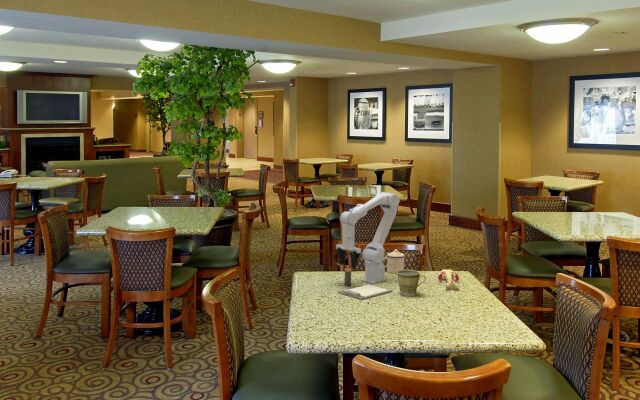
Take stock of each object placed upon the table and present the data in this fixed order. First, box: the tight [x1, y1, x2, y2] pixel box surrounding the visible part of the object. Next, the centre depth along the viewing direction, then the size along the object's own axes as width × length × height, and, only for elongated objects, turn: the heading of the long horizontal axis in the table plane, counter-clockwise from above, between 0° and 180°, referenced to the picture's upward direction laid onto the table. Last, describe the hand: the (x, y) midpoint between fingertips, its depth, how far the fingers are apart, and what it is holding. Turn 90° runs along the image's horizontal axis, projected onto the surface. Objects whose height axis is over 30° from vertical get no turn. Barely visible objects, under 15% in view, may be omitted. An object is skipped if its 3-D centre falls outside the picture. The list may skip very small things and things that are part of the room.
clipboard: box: [337, 283, 393, 301], centre depth 270 cm, size 20×15×2 cm
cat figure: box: [437, 269, 460, 292], centre depth 286 cm, size 10×9×25 cm
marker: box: [344, 267, 352, 287], centre depth 282 cm, size 3×3×8 cm
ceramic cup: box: [396, 269, 427, 297], centre depth 267 cm, size 13×10×10 cm
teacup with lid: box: [382, 249, 406, 275], centre depth 310 cm, size 12×9×12 cm
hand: (348, 265), depth 281 cm, fingers open, 7 cm apart
